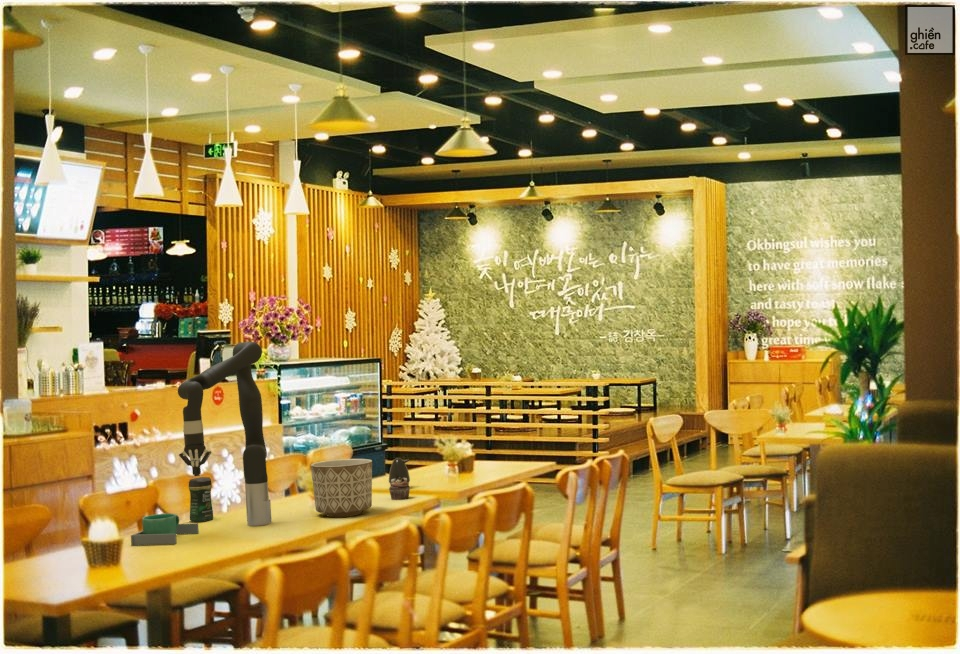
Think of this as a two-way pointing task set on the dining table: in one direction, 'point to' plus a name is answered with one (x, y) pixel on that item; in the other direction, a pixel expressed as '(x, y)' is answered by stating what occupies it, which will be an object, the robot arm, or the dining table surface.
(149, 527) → the mug
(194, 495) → the coffee jar
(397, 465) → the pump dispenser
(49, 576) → the dining table surface
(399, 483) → the cupcake
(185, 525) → the tray
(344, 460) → the planter
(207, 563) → the dining table surface
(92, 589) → the dining table surface
